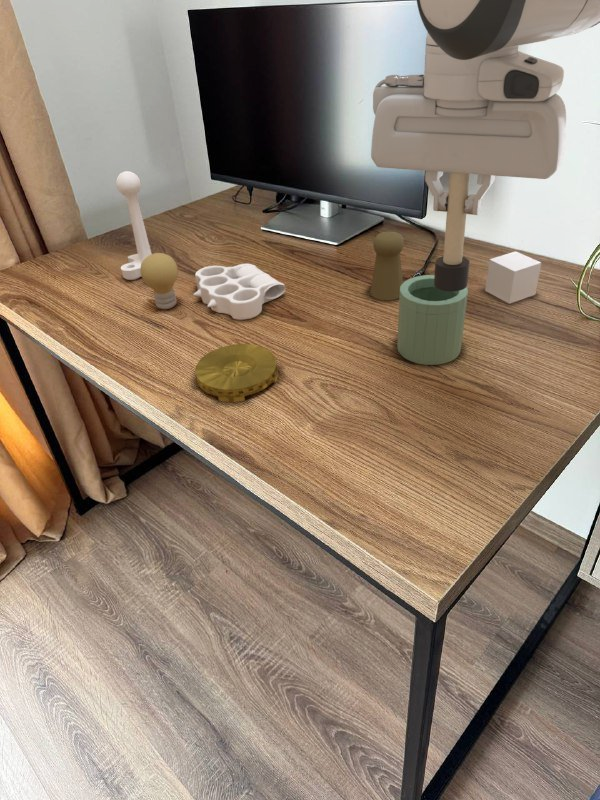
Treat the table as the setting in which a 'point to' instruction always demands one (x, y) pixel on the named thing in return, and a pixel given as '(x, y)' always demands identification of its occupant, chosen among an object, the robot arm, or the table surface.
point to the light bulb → (160, 278)
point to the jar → (430, 321)
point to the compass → (236, 371)
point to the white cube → (512, 277)
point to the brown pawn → (387, 266)
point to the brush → (454, 238)
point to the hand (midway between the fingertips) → (457, 211)
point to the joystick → (134, 224)
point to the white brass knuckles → (237, 289)
